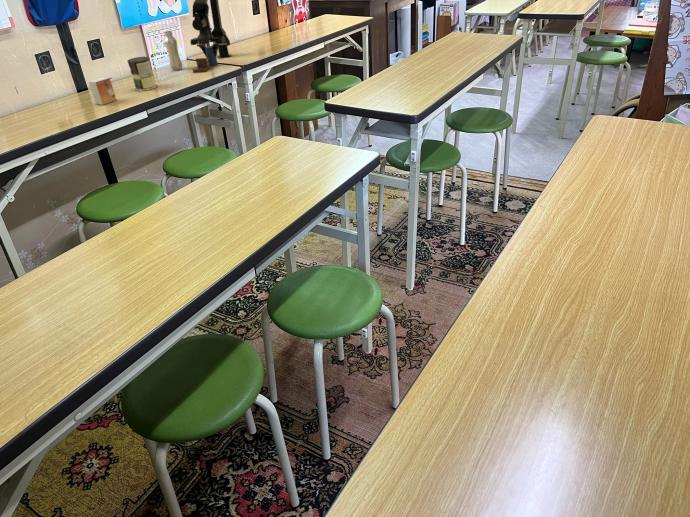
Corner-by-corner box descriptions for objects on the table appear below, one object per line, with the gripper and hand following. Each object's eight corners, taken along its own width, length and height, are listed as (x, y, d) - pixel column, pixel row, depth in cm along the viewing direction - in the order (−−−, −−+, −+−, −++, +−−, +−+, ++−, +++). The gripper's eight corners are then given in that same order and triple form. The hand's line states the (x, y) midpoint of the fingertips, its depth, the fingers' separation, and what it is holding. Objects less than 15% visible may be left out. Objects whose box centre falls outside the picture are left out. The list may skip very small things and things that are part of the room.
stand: (199, 68, 289) (197, 57, 285) (211, 68, 287) (208, 57, 284) (193, 72, 282) (190, 61, 278) (205, 72, 280) (202, 60, 277)
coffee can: (133, 91, 257) (124, 62, 249) (138, 86, 266) (130, 57, 258) (154, 89, 258) (146, 60, 250) (158, 84, 266) (150, 55, 258)
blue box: (212, 53, 296) (203, 42, 286) (220, 53, 295) (212, 41, 285) (210, 70, 294) (201, 59, 284) (218, 70, 293) (210, 59, 283)
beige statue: (170, 69, 292) (160, 31, 281) (182, 67, 295) (173, 29, 284) (172, 71, 287) (162, 33, 276) (184, 69, 290) (175, 31, 279)
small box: (102, 105, 241) (95, 82, 235) (95, 104, 244) (87, 81, 238) (117, 100, 246) (109, 77, 241) (109, 99, 249) (102, 76, 243)
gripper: (182, 30, 277) (190, 61, 285) (215, 29, 273) (221, 59, 281) (191, 26, 286) (198, 56, 294) (223, 25, 282) (228, 55, 290)
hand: (211, 56), depth 290 cm, fingers closed on blue box, 5 cm apart
